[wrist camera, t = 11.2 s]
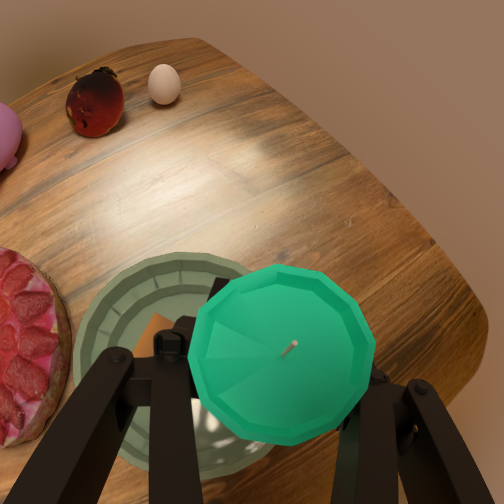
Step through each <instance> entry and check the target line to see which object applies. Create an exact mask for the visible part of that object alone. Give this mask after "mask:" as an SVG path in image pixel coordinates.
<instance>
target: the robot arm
mask: <svg viewBox="0 0 504 504" xmlns="http://www.w3.org/2000/svg"><path fill="white" fill-rule="evenodd" d="M229 280H230V279H226V278H220V277H216V278H215V280H214V283H213V286H212V288H211V291H210V294H209V296H208V299H207V302H208V301H209V300H210V299H211V298H212V297H213V296H214V295H216V294H217V293H218V292H219V291H220V290H221V289H222V288H224V287H225V286H226V285H227V284H228V283H229ZM196 318H197V317H192V316H186V315H183V316H181V317H180V318H178V319H177V320H176V322H175V324H174V326H173V328H172V329H164V330H161V331H158V332H157V333H155V335H154V337H153V348H154V356H151V357H134V356H133V354H132V352H131V351H130V350H129V349H127V348H124V347H119V346H114V347H109V348H106V349H105V350H103V351H102V352H101V353H100V355H99V356H98V358H97V359H96V360H95V362H94V363H93V365H92V366H91V367H90V369H89V370H88V372H87V373H86V374H85V376H84V377H83V379H82V380H81V381H80V383H79V384H78V386H77V387H76V389H75V390H74V392H73V393H72V394H71V396H70V397H69V399H68V400H67V402H66V403H65V405H64V406H63V408H62V409H61V411H60V412H59V414H58V415H57V417H56V418H55V420H54V421H53V423H52V424H51V426H50V427H49V429H48V430H47V432H46V433H45V435H44V437H43V438H42V440H41V441H40V443H39V444H38V446H37V448H36V449H35V451H34V452H33V454H32V456H31V457H30V459H29V460H28V462H27V464H26V465H25V467H24V469H23V470H22V472H21V474H20V475H19V477H18V479H17V480H16V482H15V484H14V485H13V487H12V489H11V490H10V492H9V494H8V496H7V497H6V499H5V501H4V503H3V504H97V502H98V500H99V497H100V495H101V492H102V490H103V488H104V485H105V483H106V480H107V478H108V475H109V473H110V471H111V468H112V466H113V463H114V461H115V459H116V456H117V454H118V452H119V449H120V447H121V445H122V442H123V440H124V438H125V435H126V433H127V431H128V429H129V426H130V424H131V422H132V419H133V417H134V415H135V413H136V410H137V408H138V407H149V406H150V424H149V504H204V503H203V496H202V489H201V482H200V475H199V467H198V459H197V450H196V442H195V432H194V423H193V412H192V401H191V398H194V399H199V396H198V393H197V389H196V386H195V383H194V379H193V376H192V372H191V369H190V365H189V362H188V358H187V357H188V353H189V348H190V344H191V340H192V335H193V331H194V327H195V323H196ZM416 425H417V428H418V431H417V429H416ZM339 429H340V437H339V446H338V454H337V462H336V469H335V476H334V483H333V489H332V496H331V502H330V504H398V472H399V475H400V478H401V481H402V484H403V488H404V491H405V494H406V497H407V501H408V504H495V503H494V500H493V498H492V496H491V494H490V492H489V490H488V488H487V486H486V483H485V481H484V479H483V477H482V475H481V473H480V471H479V469H478V467H477V465H476V463H475V461H474V459H473V457H472V455H471V453H470V452H469V450H468V448H467V446H466V444H465V442H464V440H463V438H462V437H461V435H460V433H459V431H458V429H457V428H456V426H455V424H454V422H453V420H452V418H451V417H450V415H449V413H448V412H447V410H446V408H445V406H444V404H443V403H442V401H441V399H440V398H439V396H438V394H437V392H436V391H435V389H434V388H433V386H432V385H431V384H429V383H428V382H427V381H424V380H421V379H413V380H411V381H409V382H408V384H407V386H406V387H404V386H400V385H395V384H392V383H390V379H389V377H388V376H387V375H386V374H385V373H383V372H382V371H380V370H377V369H376V366H375V364H374V362H373V363H372V369H371V374H370V380H369V385H368V389H367V391H366V392H365V393H364V395H363V396H362V397H361V398H360V400H359V401H358V402H357V404H356V405H355V406H354V407H353V409H352V410H351V411H350V412H349V414H348V415H347V416H346V417H345V419H344V420H343V421H342V422H341V423H340V425H339V426H338V427H337V429H336V431H339Z"/></svg>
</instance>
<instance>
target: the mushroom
mask: <svg viewBox="0 0 504 504" xmlns="http://www.w3.org/2000/svg"><path fill="white" fill-rule="evenodd" d="M114 74H115V73H113V70H112V69H111V70H110V69H109V67H107V66H106V67H100V68H99V69H98V70H94V71H93V73H92V74H89V75H86V76H84V77H82V78H79V79H78V78H77V76H76V78H75V80H76V81H77V82H76V83H75V84H74V86H73V87H72V89H71V90H70V92H69V94H68V97H67V101H66V112H67V117H68V119H69V121H70V123H71V125H72V127H73V128H74V130H75V131H77V132H78V133H79V134H81V135H83V136H87V137H100V136H102V135H104V134H106V133H108V131H109V130H110V129H111V128H113V127H114V126H115V125H116V124H117V123H118V121H119V119H120V117H121V115H122V112H123V109H124V102H125V101H124V91H123V88H122V86H121V83H120V82H119V81H118V80H117V79H116V78H117V75H116V74H115V75H114Z"/></svg>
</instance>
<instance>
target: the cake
mask: <svg viewBox="0 0 504 504" xmlns="http://www.w3.org/2000/svg"><path fill="white" fill-rule="evenodd" d="M70 351H71V331H70V328H69V325H68V322H67V319H66V314H65V309H64V306H63V304H62V302H61V300H60V298H59V296H58V294H57V291H56V289H55V286H54V285H53V284H52V283H51V282H50V281H49V280H48V279H47V278H46V277H45V276H44V274H43V273H42V272H41V271H40V270H39V269H38V268H37V267H36V266H35V265H34V264H33V263H31V262H30V261H29V260H28V259H26V258H25V257H24V256H22V255H21V254H19V253H18V252H16V251H13V250H10V249H7V248H3V247H0V449H1V448H7V447H12V446H16V445H18V444H20V443H22V442H24V441H29V440H34V439H36V438H37V437H38V435H39V434H40V433H41V432H42V431H43V428H44V425H45V421H46V420H47V419H48V418H49V417H50V416H51V415H52V414H53V413H54V412H55V409H56V406H57V404H58V401H59V398H60V396H61V394H62V392H63V389H64V386H65V382H66V378H67V372H68V367H69V360H70Z"/></svg>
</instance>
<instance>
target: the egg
mask: <svg viewBox="0 0 504 504" xmlns="http://www.w3.org/2000/svg"><path fill="white" fill-rule="evenodd" d="M180 86H181V84H180V79H179V76H178V74H177V73H176V71H175V70H174V69H173V68H172V67H171V66H169V65H166V64H161V65H158V66H157V67H155V68H154V69H153V71H152V72H151V74H150V77H149V80H148V91H149V94H150V96H151V98H152V99H153V100H154V101H155V102H157V103H159V104H162V105H166V104H170V103H172V102H173V101H174V100H175V99H176V98H177V96H178V95H179V92H180Z"/></svg>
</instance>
